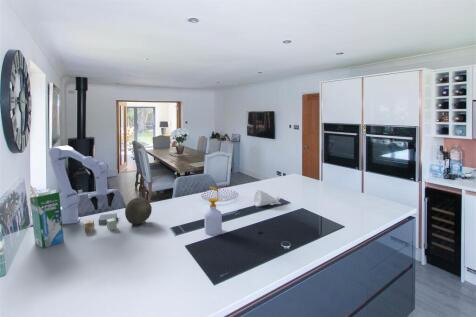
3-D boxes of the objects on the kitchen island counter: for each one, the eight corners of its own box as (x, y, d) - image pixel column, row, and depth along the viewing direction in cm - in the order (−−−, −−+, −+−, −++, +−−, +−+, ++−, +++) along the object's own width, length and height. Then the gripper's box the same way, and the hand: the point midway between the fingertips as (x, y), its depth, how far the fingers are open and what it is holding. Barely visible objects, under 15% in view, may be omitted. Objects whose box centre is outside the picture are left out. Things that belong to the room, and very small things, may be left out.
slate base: (98, 224, 154) (98, 220, 154) (100, 219, 162) (100, 215, 162) (116, 222, 157) (115, 218, 157) (117, 217, 165) (116, 213, 165)
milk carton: (55, 236, 138) (50, 189, 134) (64, 241, 133) (59, 191, 129) (34, 243, 131) (29, 193, 127) (42, 248, 126) (37, 196, 122)
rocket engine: (282, 189, 193) (259, 186, 187) (286, 203, 185) (262, 200, 179) (275, 198, 201) (253, 195, 195) (278, 212, 193) (255, 209, 187)
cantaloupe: (127, 230, 146) (125, 203, 144) (124, 221, 158) (123, 196, 156) (154, 225, 152) (153, 200, 150) (149, 217, 165) (148, 193, 162)
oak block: (84, 232, 143) (84, 223, 143) (86, 229, 147) (85, 220, 146) (93, 231, 145) (92, 222, 144) (94, 228, 148) (93, 220, 148)
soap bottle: (204, 228, 149) (204, 185, 145) (221, 228, 150) (221, 184, 146) (204, 235, 140) (203, 189, 136) (222, 235, 141) (221, 189, 137)
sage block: (109, 230, 146) (108, 221, 145) (107, 228, 149) (106, 219, 148) (116, 228, 148) (116, 220, 148) (114, 226, 151) (114, 218, 151)
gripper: (91, 188, 143) (93, 212, 145) (117, 182, 155) (119, 205, 157) (85, 186, 147) (87, 210, 149) (111, 181, 159) (112, 203, 161)
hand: (103, 207), depth 153 cm, fingers open, 7 cm apart
